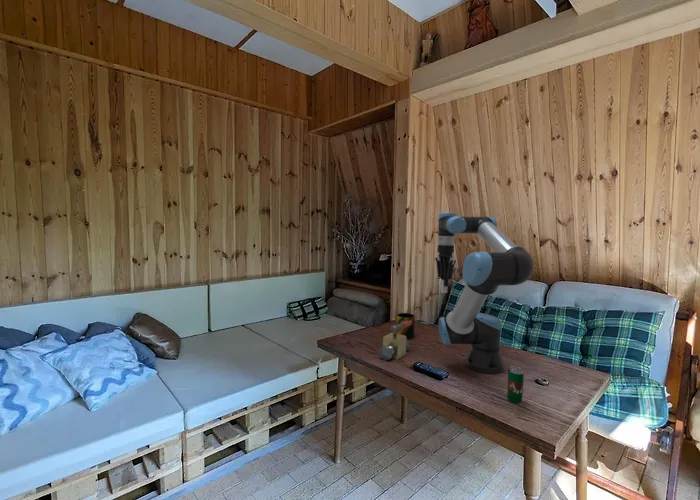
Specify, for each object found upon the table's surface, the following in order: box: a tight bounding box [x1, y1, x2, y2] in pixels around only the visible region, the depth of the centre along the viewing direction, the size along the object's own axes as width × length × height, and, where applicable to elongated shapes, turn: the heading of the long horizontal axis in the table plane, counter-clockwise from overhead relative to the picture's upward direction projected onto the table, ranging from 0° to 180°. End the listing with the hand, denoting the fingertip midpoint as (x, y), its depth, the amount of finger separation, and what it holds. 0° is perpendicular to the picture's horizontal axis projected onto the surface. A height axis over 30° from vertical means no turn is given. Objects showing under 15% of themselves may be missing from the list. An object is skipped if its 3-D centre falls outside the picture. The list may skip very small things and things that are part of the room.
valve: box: [378, 332, 410, 361], centre depth 164 cm, size 17×8×9 cm, turn 142°
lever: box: [390, 320, 412, 336], centre depth 167 cm, size 14×4×5 cm, turn 135°
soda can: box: [506, 365, 525, 404], centre depth 123 cm, size 5×5×12 cm
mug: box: [396, 312, 416, 341], centre depth 191 cm, size 10×14×12 cm
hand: (444, 292), depth 167 cm, fingers closed
